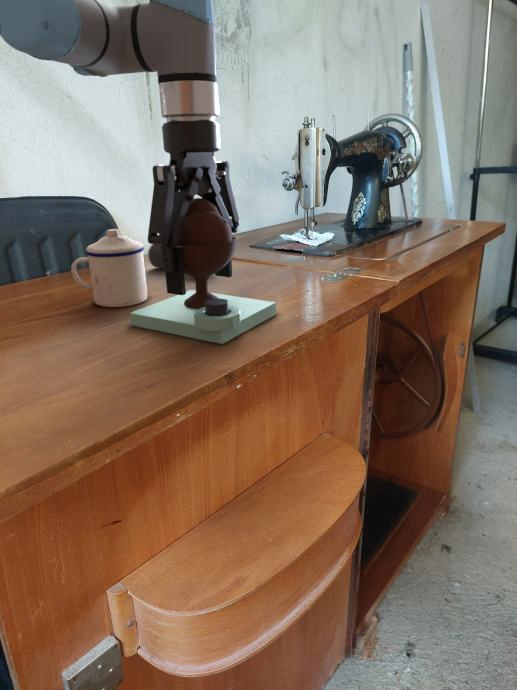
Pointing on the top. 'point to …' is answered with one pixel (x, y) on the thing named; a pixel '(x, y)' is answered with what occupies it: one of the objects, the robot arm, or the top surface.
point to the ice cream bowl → (204, 247)
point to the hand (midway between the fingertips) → (201, 284)
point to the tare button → (217, 307)
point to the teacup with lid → (115, 271)
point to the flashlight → (155, 256)
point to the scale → (203, 317)
